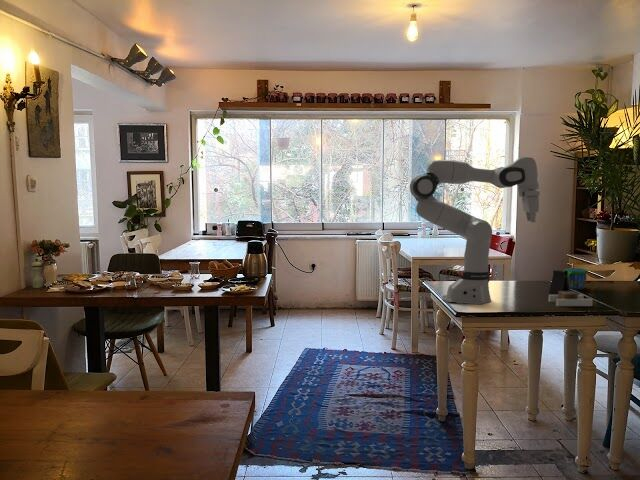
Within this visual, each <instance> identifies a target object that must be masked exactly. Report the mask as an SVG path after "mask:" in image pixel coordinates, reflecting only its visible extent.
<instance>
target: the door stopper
mask: <svg viewBox="0 0 640 480" xmlns="http://www.w3.org/2000/svg"><path fill="white" fill-rule="evenodd" d="M551 278H552V279H551V283H550V288H549V291H548V293H549V294H550V295H558V292H559V291H571V289H570V287H569V281H568V271H567V270H565V269H559V268H555V269H553V272H552V277H551Z"/></svg>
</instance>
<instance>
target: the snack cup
mask: <svg viewBox="0 0 640 480" xmlns="http://www.w3.org/2000/svg"><path fill="white" fill-rule="evenodd" d="M564 270H567V271H568V281H569V287H570V290H582V289H583V290H584V287H585V283H586V281H587V279H588V278H587V275H588V269H585V268H580V267H578V268H577V267H567V268H565V269H564Z"/></svg>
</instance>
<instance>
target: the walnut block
mask: <svg viewBox="0 0 640 480" xmlns="http://www.w3.org/2000/svg"><path fill="white" fill-rule="evenodd" d="M557 295H558V299H578V295H579V293H578V292H577V293H576V292H574V291H573V290H570V291H559V292H558V294H557Z"/></svg>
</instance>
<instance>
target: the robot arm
mask: <svg viewBox="0 0 640 480" xmlns="http://www.w3.org/2000/svg"><path fill="white" fill-rule="evenodd" d="M538 175H539V174H538V166H537V162H536V160H535V159H534V158H533V157H525V156H524V157H518V158H517V159H516V160H515V161H513V162H512V163H510V164H509V165H506V166H500V167H497V168H494V169H486V168H477V167H476V168H475V167H473V166H471V165H470V164H469V163H468V162H466V161H462V160H456V159H455V160H454V159H437V160H436V159H434V160H432V161H431V162H430V163H429V164H428V166H427V169H426V172H425V173H423V174H419V175H417V176H415V177H414V178H413V179H412V180H411V182H410V184H409V190H410V193H411V195H412V196H413V197H414V199H415V200H416V202H417V204H416V208H415V209H416V210H415V211H416V214H417V215H418V216H420V218H422V219H424V220H425V221H426V222H429V223H431V224H433V225H435V226H437V227H440V228H442V229H444V230H446V231H449V232H451V233H453V234H455V235H457V236H460V237H462V238H464V239H466V241H465V242H466V244H465V250H464V254H463V255H464V257H463V259H464V260H463V270H457V271H456V273H457V275H458V276H459V278H458V279H456V281H454V282H453V283H451V284H449V286H448V288H447V292H446V294H444V295H442V300H443V301H444V302H445V303H448V302H457V303H456V304H463V303H467V305H470V304H471V305H484V304H485V303H489V302H491V301H492V298H491V294H490V286H489V285H490V284H489V283H490V271H489V255H490V248H491V241H492V235H493V229H492V226H491V224H490V223H489V222H488V221H487V220H484V219H481V218H479V217H476V216H473V215H471V214H469V213H467V212H465V211H463V210H461V209H459V208H456V207H454V206H452V205H450V204H447V203H446V202H443V201H440V200H439V199H437V198H435V196H434V194H435V192H436V190H437V188H438V186H439V184H451V185H462V184H463V185H464V184H468V183H470V182H479V183H486V184H491V185H493V186H495V187H497V188H500V189H504V188H505V189H506V188H512V187H515V186H517V189H518V197H519V198H520V197H521V203H522V210H523V212H525V215H526V220H527V221H529V222H531V223H536V216H537V215H536V213H539V208H540V207H539V206H540V205H539V204H540V202H539V201H540V199H539V196H540V195H541V193H540V186H539V182H538Z"/></svg>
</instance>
